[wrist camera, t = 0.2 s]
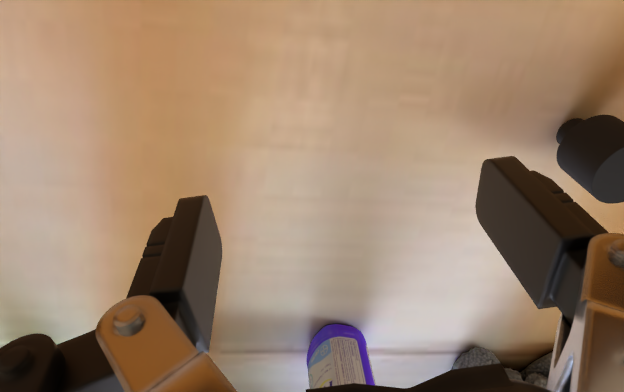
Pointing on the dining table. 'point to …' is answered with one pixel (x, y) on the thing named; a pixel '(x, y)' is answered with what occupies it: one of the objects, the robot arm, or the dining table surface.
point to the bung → (594, 155)
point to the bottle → (338, 358)
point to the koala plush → (532, 374)
